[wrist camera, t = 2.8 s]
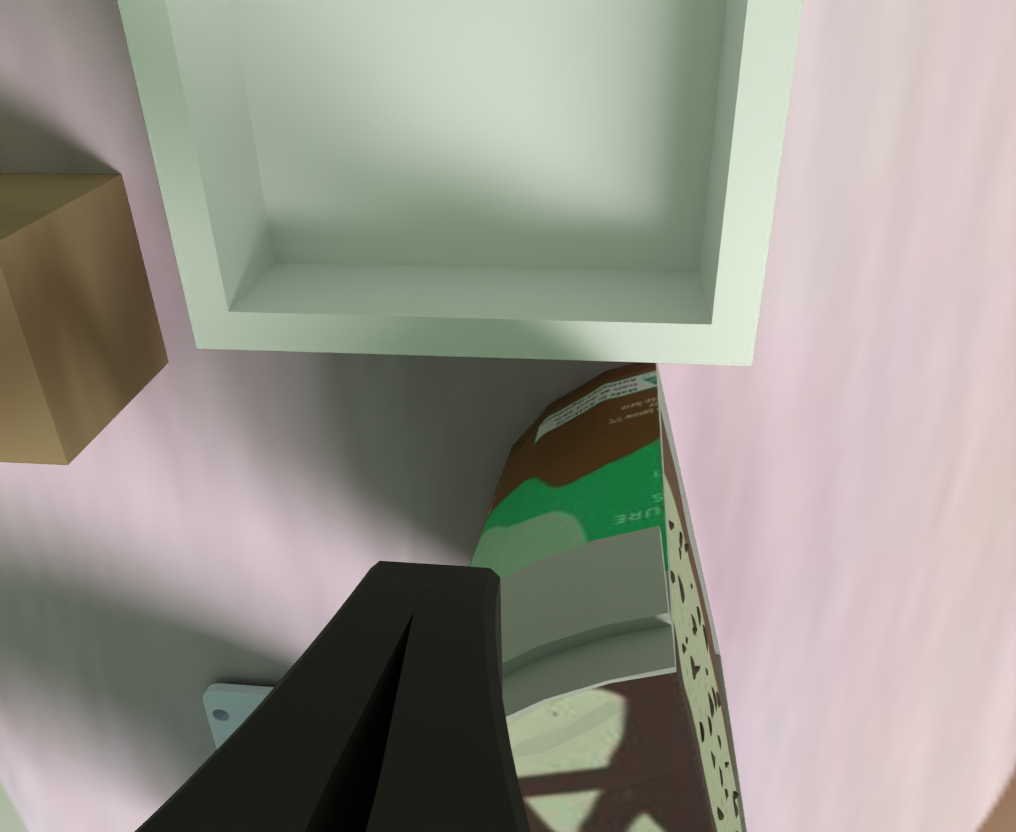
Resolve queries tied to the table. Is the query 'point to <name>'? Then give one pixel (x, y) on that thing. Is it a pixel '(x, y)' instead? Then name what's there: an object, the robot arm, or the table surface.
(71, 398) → the walnut block
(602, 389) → the food container
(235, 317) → the counting tray
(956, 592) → the table surface
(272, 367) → the table surface
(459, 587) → the robot arm
